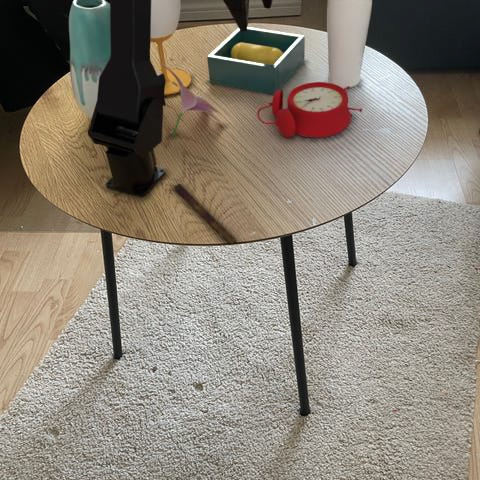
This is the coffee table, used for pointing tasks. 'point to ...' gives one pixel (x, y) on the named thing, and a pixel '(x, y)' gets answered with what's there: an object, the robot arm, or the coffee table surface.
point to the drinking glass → (346, 39)
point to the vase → (88, 49)
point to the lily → (192, 101)
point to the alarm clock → (312, 110)
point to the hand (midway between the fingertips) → (255, 19)
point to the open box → (256, 73)
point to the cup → (162, 28)
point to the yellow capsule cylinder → (256, 53)
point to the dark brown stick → (205, 215)
